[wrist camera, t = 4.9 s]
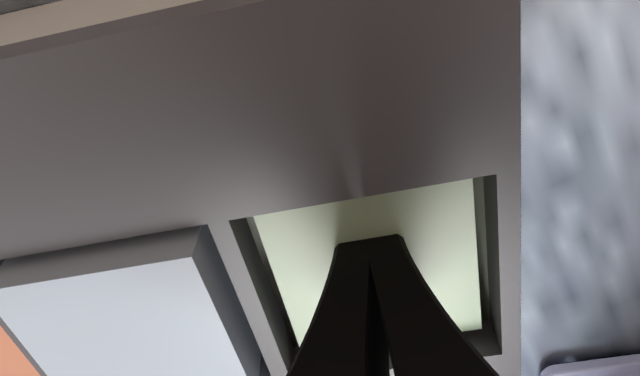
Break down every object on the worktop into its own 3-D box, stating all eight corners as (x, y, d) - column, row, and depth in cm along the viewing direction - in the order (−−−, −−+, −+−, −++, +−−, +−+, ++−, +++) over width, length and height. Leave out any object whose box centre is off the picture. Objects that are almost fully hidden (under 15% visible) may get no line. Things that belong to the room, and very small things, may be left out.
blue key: (214, 186, 11) (191, 257, 9) (266, 318, 13) (256, 397, 12) (36, 218, 12) (-20, 291, 10) (115, 340, 14) (82, 419, 12)
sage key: (446, 119, 11) (472, 175, 9) (459, 261, 14) (481, 328, 12) (263, 154, 12) (252, 213, 10) (304, 284, 14) (301, 353, 12)
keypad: (450, -91, 11) (525, -55, 7) (477, 310, 17) (523, 449, 13) (-216, 65, 13) (-461, 165, 9) (35, 373, 19) (-39, 511, 15)
